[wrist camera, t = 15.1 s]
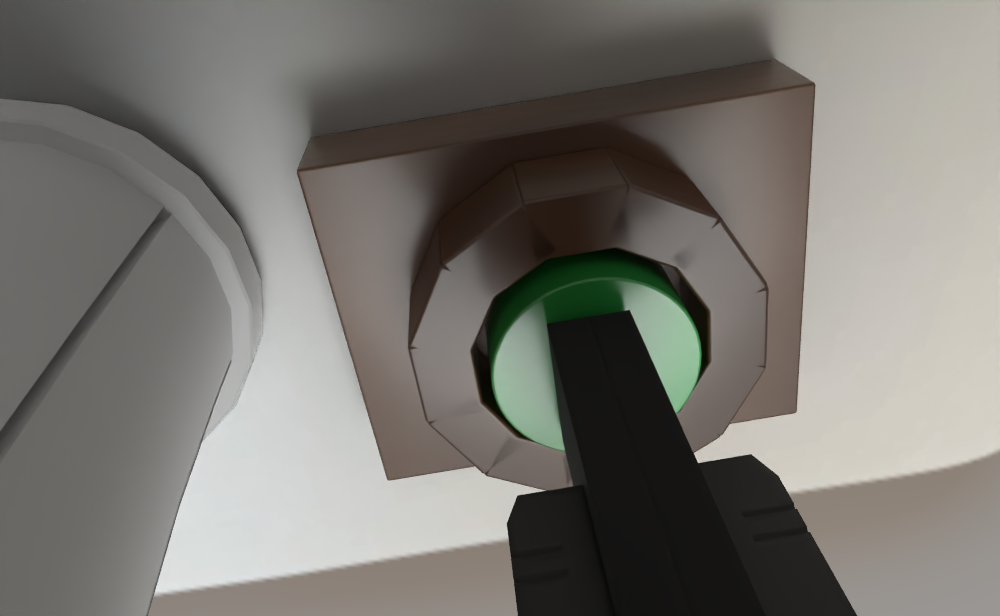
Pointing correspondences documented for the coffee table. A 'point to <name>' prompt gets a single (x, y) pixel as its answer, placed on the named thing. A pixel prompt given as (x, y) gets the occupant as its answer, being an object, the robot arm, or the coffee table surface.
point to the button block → (565, 247)
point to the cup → (107, 355)
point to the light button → (577, 294)
